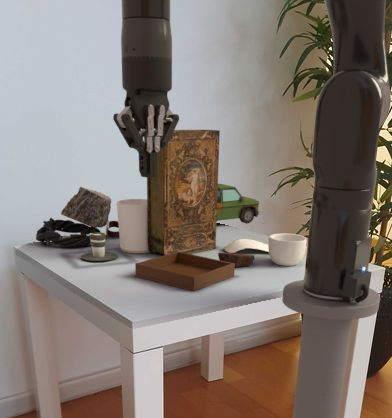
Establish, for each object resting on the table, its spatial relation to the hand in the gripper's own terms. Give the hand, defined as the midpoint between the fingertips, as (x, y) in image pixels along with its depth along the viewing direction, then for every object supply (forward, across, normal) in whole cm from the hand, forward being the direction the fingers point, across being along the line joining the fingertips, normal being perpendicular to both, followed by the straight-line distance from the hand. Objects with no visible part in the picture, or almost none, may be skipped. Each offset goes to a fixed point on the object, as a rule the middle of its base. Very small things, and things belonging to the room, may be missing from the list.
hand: (148, 176), depth 90 cm
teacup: (+19, +33, -8) cm, 39 cm away
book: (+19, +26, +14) cm, 35 cm away
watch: (+19, +27, +37) cm, 49 cm away
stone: (+19, +24, -2) cm, 30 cm away
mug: (+19, +21, +22) cm, 36 cm away
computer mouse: (+19, +36, +3) cm, 41 cm away
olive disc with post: (+19, +9, +23) cm, 31 cm away
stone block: (+7, +21, +39) cm, 45 cm away
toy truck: (+19, +57, +27) cm, 66 cm away
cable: (+19, +16, +40) cm, 47 cm away
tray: (+19, +10, +1) cm, 22 cm away
